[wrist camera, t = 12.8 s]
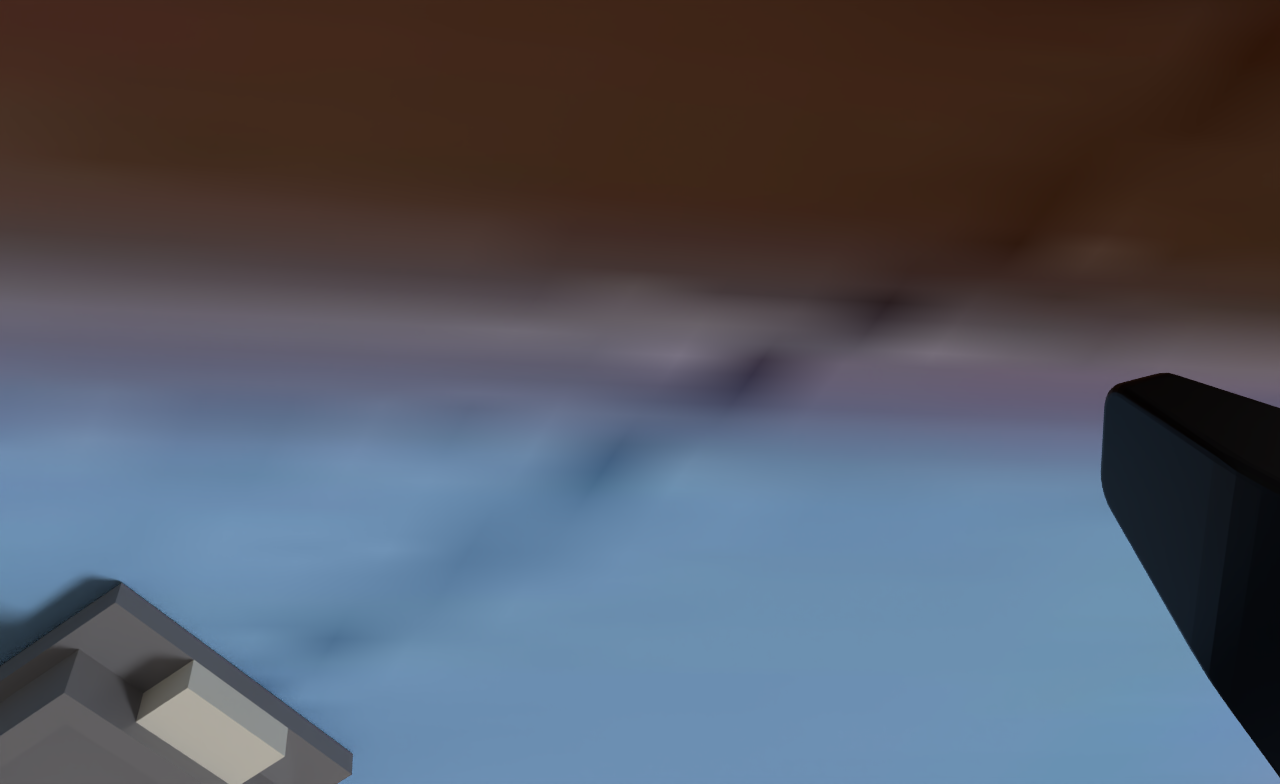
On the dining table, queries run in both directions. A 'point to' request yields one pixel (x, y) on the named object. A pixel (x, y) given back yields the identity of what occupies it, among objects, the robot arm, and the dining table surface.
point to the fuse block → (148, 709)
